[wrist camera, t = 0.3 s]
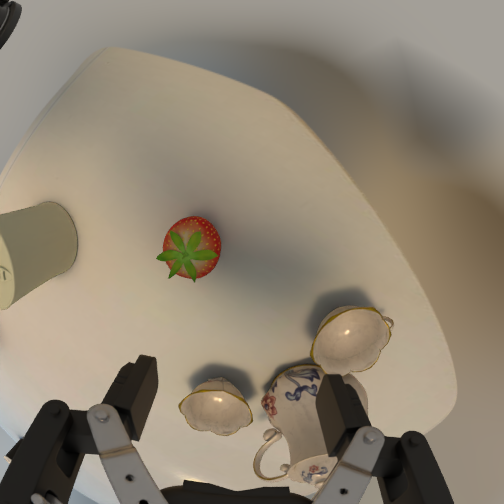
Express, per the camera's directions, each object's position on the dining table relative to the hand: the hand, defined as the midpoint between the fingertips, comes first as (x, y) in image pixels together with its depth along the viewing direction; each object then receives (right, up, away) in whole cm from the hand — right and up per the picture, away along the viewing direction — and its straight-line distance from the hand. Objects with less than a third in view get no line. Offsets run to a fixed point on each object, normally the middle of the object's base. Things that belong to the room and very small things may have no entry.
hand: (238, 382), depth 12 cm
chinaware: (+6, -9, +21) cm, 24 cm away
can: (-24, +8, +16) cm, 30 cm away
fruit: (-5, +8, +16) cm, 19 cm away
